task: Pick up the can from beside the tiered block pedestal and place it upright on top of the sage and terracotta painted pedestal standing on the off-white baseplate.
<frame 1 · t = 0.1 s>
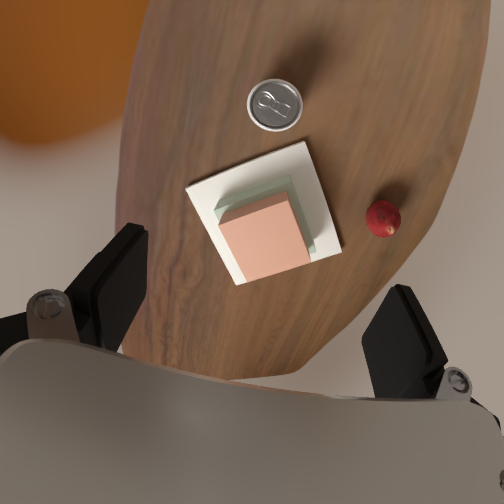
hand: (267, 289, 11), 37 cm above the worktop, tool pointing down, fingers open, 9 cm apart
tiered block pedestal: (267, 217, 49), on the worktop
can: (274, 103, 40), on the worktop
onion: (376, 209, 47), on the worktop
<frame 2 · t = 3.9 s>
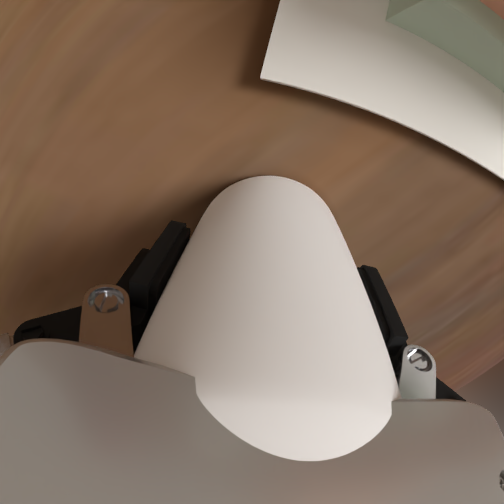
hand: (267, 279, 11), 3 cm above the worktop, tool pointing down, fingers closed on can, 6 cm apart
can: (268, 237, 14), on the worktop, touching gripper
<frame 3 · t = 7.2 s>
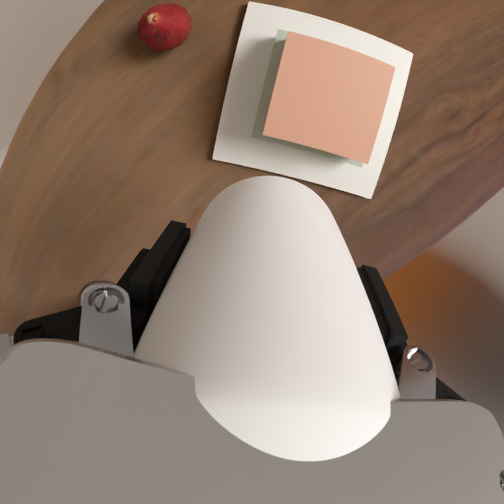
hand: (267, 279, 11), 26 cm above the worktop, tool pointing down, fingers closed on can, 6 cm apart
tiered block pedestal: (315, 97, 31), on the worktop
can: (268, 237, 14), point 23 cm above the worktop, touching gripper
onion: (174, 33, 27), on the worktop
when the fingers open (14 cm above the worktop, at t = 10.9 s): can drops 1 cm, resting on tiered block pedestal.
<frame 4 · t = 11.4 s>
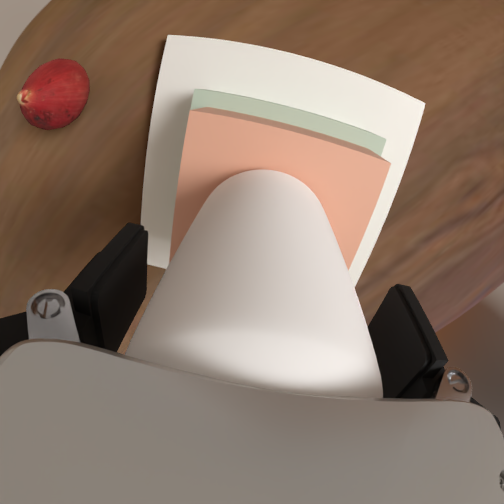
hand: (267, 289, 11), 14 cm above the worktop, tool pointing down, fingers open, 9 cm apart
tiered block pedestal: (270, 178, 23), on the worktop
can: (263, 226, 16), point 9 cm above the worktop, touching tiered block pedestal
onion: (81, 90, 20), on the worktop
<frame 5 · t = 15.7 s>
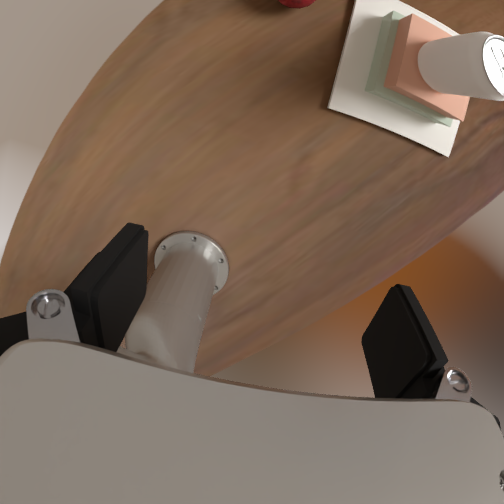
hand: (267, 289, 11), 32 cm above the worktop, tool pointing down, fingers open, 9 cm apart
tiered block pedestal: (409, 69, 31), on the worktop
can: (438, 67, 23), point 9 cm above the worktop, touching tiered block pedestal
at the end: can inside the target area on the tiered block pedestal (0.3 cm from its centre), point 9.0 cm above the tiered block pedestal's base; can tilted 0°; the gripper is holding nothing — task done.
